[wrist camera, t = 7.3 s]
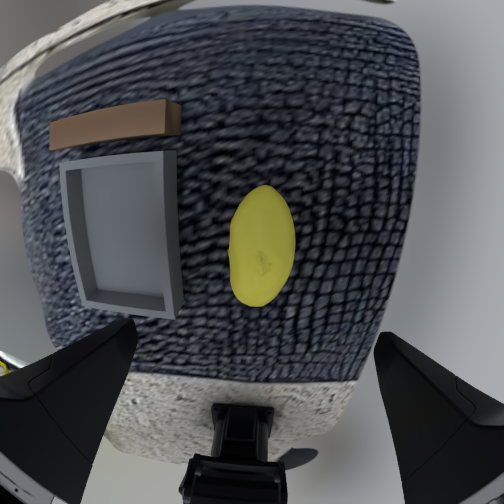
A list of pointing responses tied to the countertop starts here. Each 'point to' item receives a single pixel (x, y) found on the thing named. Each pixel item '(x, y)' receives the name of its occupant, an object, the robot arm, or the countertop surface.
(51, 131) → the rail
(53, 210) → the countertop surface
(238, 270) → the lemon
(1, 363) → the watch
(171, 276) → the tray
